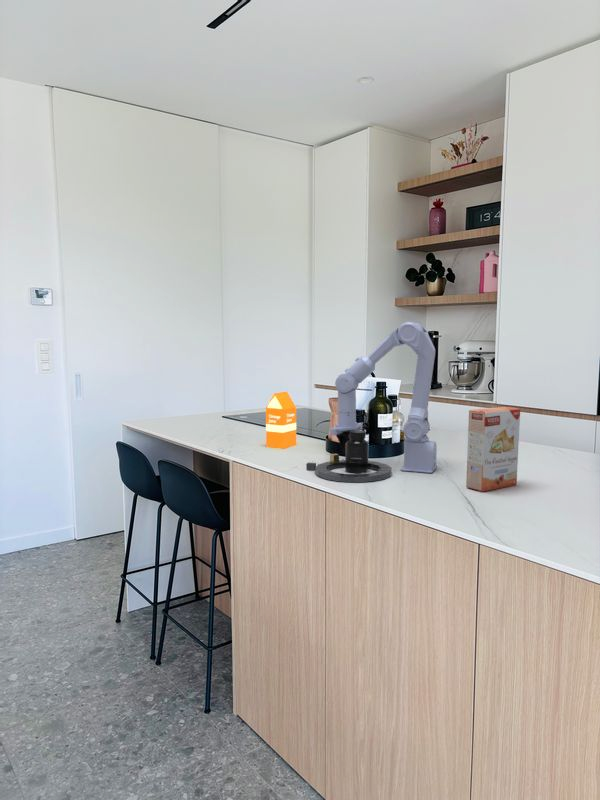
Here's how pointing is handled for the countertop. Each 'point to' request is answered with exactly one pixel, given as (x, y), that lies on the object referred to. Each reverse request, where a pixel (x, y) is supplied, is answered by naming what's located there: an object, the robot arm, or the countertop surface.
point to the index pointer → (310, 466)
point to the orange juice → (281, 421)
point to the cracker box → (492, 448)
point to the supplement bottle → (356, 452)
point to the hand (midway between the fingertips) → (346, 454)
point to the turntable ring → (324, 472)
